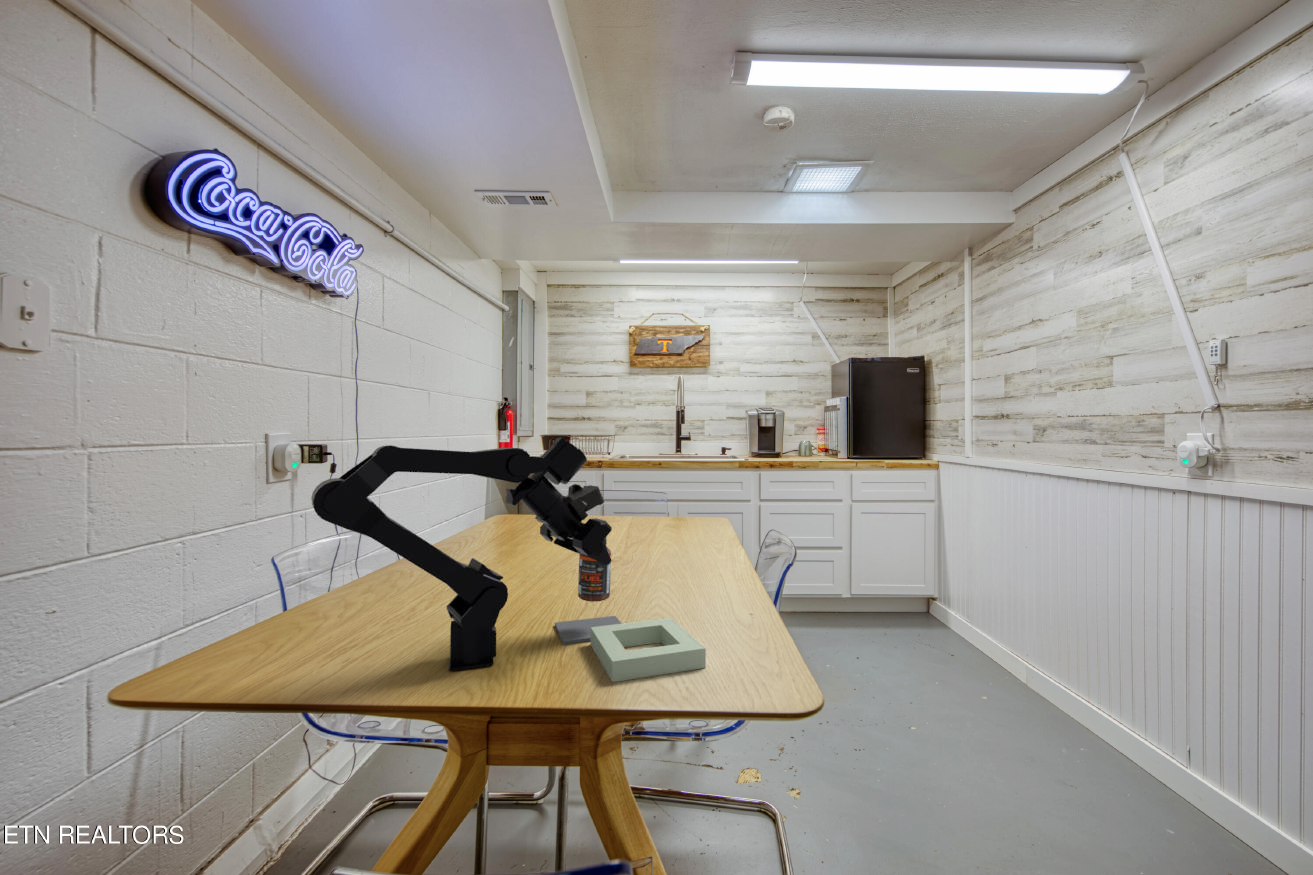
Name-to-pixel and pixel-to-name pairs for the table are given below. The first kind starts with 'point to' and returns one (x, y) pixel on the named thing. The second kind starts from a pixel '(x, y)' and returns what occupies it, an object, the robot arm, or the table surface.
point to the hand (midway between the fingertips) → (601, 559)
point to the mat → (581, 628)
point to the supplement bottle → (594, 578)
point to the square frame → (646, 649)
